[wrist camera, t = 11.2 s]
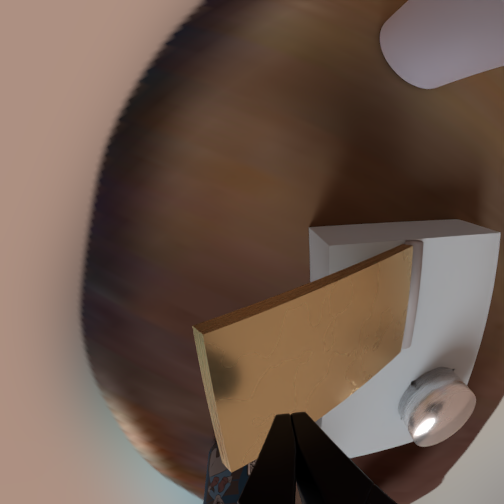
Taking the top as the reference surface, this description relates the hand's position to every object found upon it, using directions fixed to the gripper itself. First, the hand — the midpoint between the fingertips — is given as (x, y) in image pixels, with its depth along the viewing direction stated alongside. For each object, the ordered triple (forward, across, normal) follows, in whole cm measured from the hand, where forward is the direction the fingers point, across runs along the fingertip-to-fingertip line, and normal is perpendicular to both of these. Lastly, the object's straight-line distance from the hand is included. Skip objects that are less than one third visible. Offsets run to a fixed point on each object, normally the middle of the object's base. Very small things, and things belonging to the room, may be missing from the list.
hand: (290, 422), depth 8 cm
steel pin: (+13, -11, +8) cm, 19 cm away
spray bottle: (+13, -12, -16) cm, 24 cm away
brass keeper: (+4, -2, 0) cm, 4 cm away
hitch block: (+13, -9, +6) cm, 17 cm away
